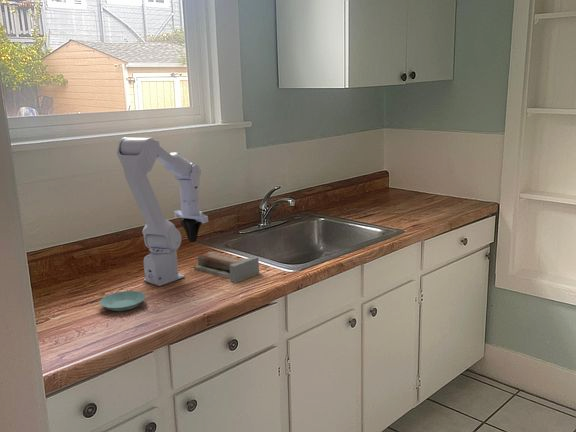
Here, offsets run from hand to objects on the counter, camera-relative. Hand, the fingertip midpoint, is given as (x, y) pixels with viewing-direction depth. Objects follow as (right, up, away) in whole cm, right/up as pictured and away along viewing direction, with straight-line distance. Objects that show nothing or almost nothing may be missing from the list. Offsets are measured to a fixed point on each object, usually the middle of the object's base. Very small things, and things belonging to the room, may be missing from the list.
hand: (192, 241), depth 188 cm
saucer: (-13, -16, -32) cm, 38 cm away
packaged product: (+11, -9, -6) cm, 16 cm away
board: (+18, -10, -13) cm, 24 cm away
